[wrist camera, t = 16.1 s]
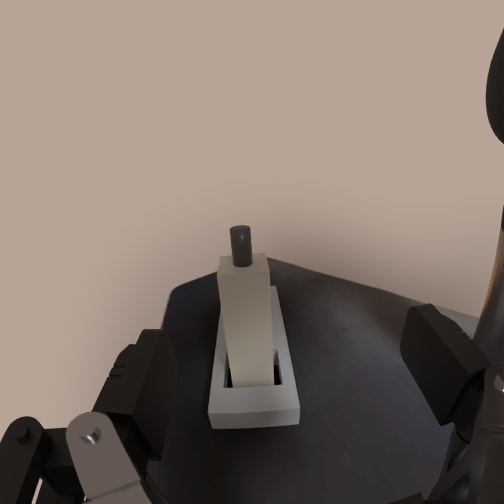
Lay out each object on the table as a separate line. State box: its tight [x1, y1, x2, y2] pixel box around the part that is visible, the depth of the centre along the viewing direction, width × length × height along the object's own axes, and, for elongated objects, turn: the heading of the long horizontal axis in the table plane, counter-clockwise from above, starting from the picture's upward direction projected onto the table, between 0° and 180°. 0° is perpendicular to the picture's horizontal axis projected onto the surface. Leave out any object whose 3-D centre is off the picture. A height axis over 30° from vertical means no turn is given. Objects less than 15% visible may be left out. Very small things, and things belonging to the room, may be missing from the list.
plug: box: [217, 225, 274, 388], centre depth 26 cm, size 4×4×17 cm
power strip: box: [208, 286, 300, 429], centre depth 37 cm, size 29×8×3 cm, turn 1°
